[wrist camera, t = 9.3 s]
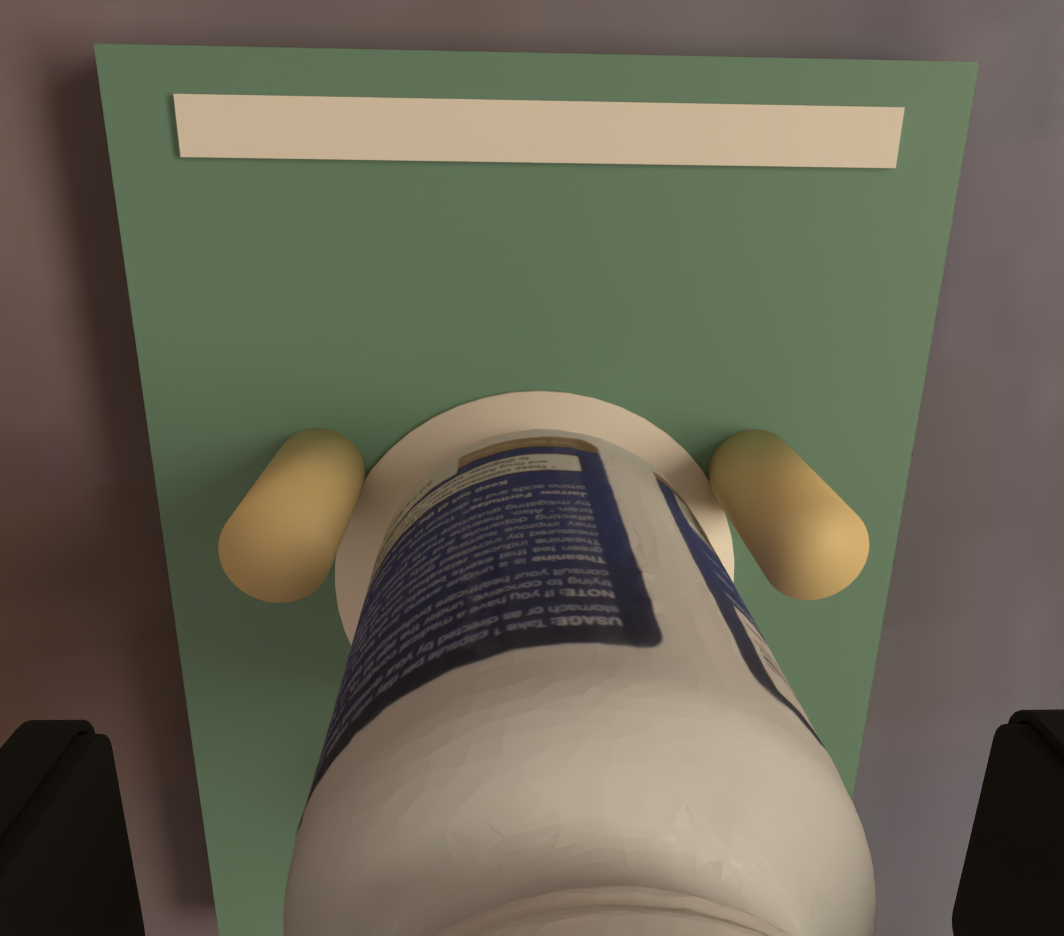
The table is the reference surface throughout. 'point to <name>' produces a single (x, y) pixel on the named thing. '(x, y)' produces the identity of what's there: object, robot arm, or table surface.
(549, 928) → the pill bottle
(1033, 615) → the table surface
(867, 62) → the board
